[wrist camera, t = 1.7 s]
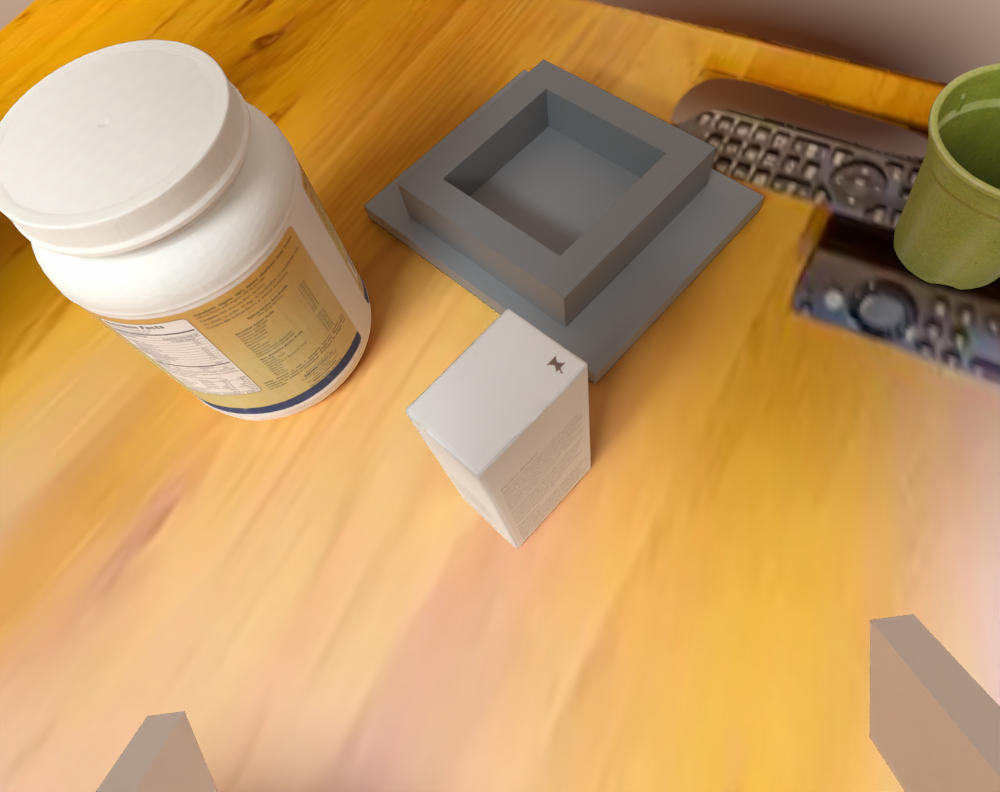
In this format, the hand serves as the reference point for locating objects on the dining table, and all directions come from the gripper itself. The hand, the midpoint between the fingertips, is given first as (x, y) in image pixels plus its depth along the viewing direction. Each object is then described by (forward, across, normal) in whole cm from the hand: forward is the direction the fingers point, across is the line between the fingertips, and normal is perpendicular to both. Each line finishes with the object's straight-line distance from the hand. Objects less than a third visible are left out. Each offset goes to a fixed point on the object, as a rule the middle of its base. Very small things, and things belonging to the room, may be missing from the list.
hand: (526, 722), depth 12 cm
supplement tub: (+30, -14, +3) cm, 33 cm away
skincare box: (+22, 0, -6) cm, 23 cm away
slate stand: (+34, +4, +7) cm, 35 cm away
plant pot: (+29, +26, +2) cm, 39 cm away
